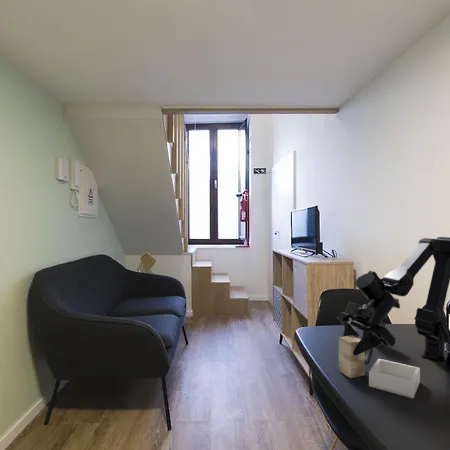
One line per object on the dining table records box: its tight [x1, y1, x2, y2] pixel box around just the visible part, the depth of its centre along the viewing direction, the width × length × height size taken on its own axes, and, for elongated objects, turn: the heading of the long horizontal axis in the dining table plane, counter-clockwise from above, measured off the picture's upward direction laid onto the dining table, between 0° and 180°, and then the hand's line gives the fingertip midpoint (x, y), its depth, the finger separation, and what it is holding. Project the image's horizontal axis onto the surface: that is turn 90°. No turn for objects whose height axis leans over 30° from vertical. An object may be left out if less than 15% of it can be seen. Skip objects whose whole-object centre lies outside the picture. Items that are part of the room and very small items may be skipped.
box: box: [368, 358, 421, 400], centre depth 93 cm, size 11×11×4 cm
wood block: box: [338, 335, 366, 379], centre depth 100 cm, size 5×5×10 cm
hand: (347, 351), depth 100 cm, fingers closed on wood block, 5 cm apart
